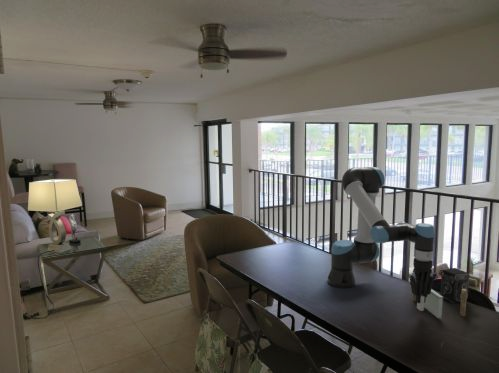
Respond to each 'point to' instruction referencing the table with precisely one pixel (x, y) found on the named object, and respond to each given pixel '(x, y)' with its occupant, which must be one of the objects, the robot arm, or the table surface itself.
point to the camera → (454, 284)
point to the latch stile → (463, 302)
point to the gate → (434, 303)
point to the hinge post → (414, 295)
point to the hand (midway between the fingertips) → (420, 309)
